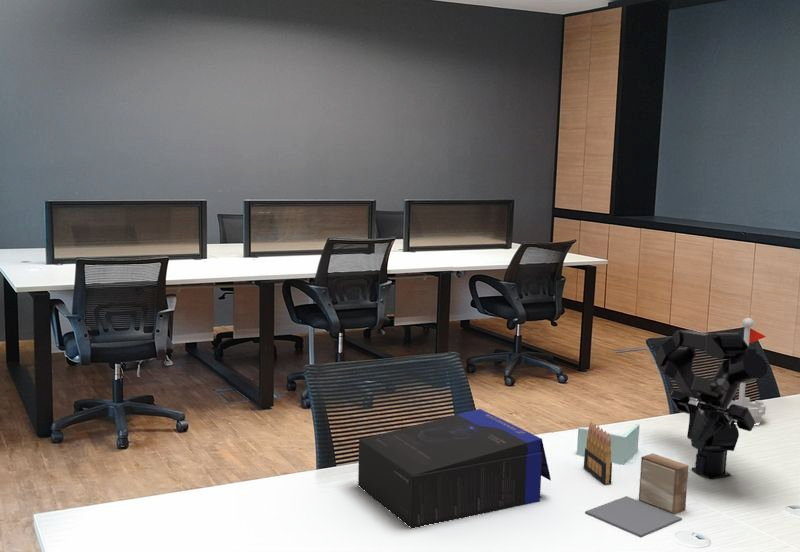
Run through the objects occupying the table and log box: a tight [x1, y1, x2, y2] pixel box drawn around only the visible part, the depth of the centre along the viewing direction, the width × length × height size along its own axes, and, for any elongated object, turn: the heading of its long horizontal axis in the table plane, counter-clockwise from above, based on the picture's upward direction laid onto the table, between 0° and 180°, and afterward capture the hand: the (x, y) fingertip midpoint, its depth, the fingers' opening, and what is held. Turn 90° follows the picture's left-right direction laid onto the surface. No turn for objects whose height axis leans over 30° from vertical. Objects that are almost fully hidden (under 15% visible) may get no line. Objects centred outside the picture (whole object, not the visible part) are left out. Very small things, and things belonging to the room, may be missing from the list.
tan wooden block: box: [638, 453, 690, 515], centre depth 185 cm, size 4×9×10 cm, turn 38°
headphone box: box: [357, 408, 552, 529], centre depth 189 cm, size 25×35×14 cm
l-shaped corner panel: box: [576, 423, 640, 465], centre depth 218 cm, size 12×12×8 cm
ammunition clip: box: [583, 420, 613, 486], centre depth 201 cm, size 11×2×12 cm, turn 14°
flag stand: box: [728, 317, 767, 424], centre depth 246 cm, size 13×13×30 cm
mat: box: [584, 495, 683, 538], centre depth 180 cm, size 14×14×1 cm
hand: (693, 439), depth 191 cm, fingers open, 2 cm apart
